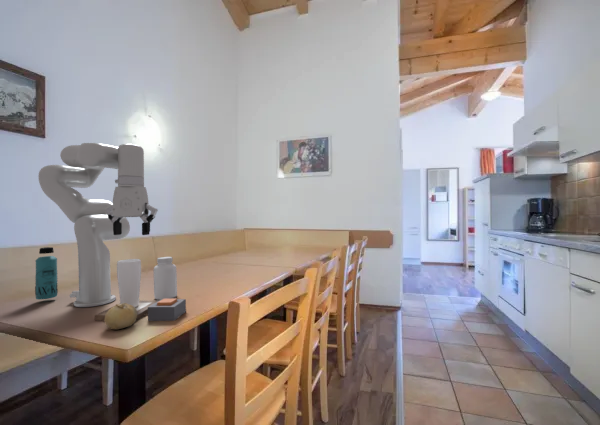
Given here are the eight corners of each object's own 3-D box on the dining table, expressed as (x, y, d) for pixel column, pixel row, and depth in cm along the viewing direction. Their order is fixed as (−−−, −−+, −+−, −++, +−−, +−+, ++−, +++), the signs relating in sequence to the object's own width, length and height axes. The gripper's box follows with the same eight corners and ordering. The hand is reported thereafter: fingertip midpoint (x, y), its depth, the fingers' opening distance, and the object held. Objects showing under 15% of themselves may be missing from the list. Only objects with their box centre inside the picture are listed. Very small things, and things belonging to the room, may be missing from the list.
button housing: (147, 320, 90) (147, 307, 90) (161, 311, 98) (161, 299, 98) (174, 320, 89) (174, 306, 89) (185, 311, 97) (185, 299, 97)
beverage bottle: (31, 302, 111) (30, 248, 111) (51, 298, 117) (50, 246, 117) (42, 304, 108) (40, 248, 108) (62, 299, 115) (61, 246, 115)
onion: (97, 330, 83) (97, 304, 83) (122, 320, 90) (122, 297, 90) (119, 334, 80) (119, 307, 80) (144, 323, 88) (143, 298, 88)
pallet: (94, 320, 91) (94, 314, 91) (125, 305, 106) (125, 300, 106) (137, 320, 90) (137, 314, 90) (162, 304, 105) (162, 300, 105)
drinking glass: (146, 303, 101) (145, 258, 101) (133, 310, 94) (132, 262, 94) (126, 303, 102) (125, 258, 102) (112, 310, 95) (111, 262, 95)
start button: (157, 312, 91) (157, 302, 91) (164, 308, 96) (164, 298, 96) (171, 312, 91) (170, 302, 91) (177, 308, 95) (177, 298, 95)
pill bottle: (169, 293, 120) (168, 255, 120) (181, 296, 116) (180, 257, 116) (149, 298, 114) (149, 258, 114) (161, 301, 109) (160, 259, 109)
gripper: (97, 182, 97) (98, 235, 97) (150, 181, 96) (150, 235, 96) (113, 184, 104) (114, 233, 104) (162, 183, 103) (163, 233, 103)
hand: (131, 234), depth 100 cm, fingers open, 9 cm apart
